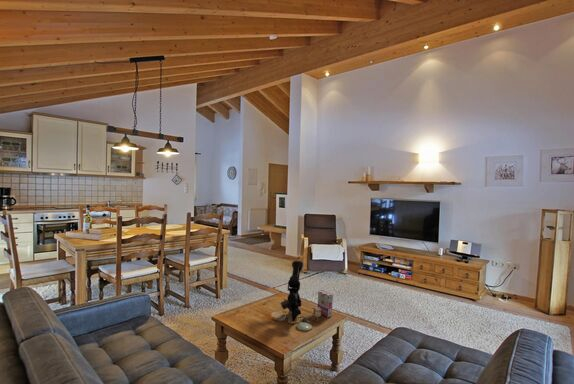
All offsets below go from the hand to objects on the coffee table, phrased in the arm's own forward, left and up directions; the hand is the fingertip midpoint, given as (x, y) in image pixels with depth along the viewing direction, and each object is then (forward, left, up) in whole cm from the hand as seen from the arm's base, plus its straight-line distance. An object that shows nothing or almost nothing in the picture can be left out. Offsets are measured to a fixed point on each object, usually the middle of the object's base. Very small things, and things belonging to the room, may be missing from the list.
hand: (292, 319), depth 209 cm
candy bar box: (-17, +23, -2) cm, 29 cm away
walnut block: (0, 0, -1) cm, 1 cm away
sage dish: (+6, +8, -2) cm, 11 cm away
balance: (-3, +8, -2) cm, 9 cm away
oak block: (-6, +17, +3) cm, 18 cm away
